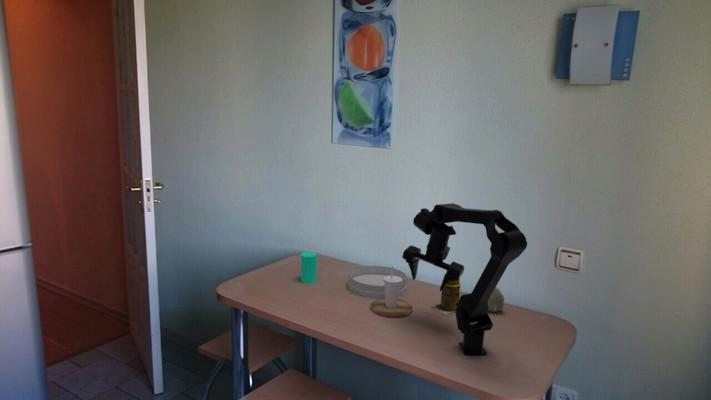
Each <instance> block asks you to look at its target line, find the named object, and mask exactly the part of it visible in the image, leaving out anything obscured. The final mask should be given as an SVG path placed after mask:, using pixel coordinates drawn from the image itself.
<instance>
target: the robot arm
mask: <svg viewBox="0 0 711 400" xmlns="http://www.w3.org/2000/svg"><path fill="white" fill-rule="evenodd" d="M412 221H413V225H414V227H416V228H417V229H418V230H420V231H421V232H422V233H423V234H425V235H426V236H429V239H428V243H427V245H426V251H425V254H424V253H421V252H422V249H421V248H420V247H417V246H414V245H409V246H408V247H407V248H405V250H403V252H402V255H401V256H402V259H403V260H405V263H407V264H408V267H409V269H410V273H411V278H412V280H413V281H414V280H416V277H417V273H418V267H419V263H420V261H422V262H425V263H428V264H431V265H433V266H435V267H438V268H441V269H443V270H445V271H446V272H445V274H446V275H445V274H444V275H445V276H444V275H443V278H442V282H441V285H440V287H439V291H440V292H442V289H443V288H444V286H445V285H446V283H447V282H448V281H449V280H454V279H455V280H458V279H459V278H460V279H461V277H462V275H463V273H464V271H465V266H464V265H463V264H461V263H458V262H456V261H451V263H447V262H445V260H447V257H448V256H449V253H450V251H451V247H450V246H449V245H448V243H449V241H450V240H449V239H450V236H456V234H457V232H456V230H455V228H454V226H453V225H448V224H449V223H457V222H459V223H465V224H467V223H468V224H477V225H483V226H484V228H485V232H486V237H487V239H488V240H489V242H490V243H491V245H490V248H489V251H490V258H489V260H488V262H487V263H486V266H485V268H484V269H483V271H482V273H481V275H480V276H479V278H478V280H477V282H476V284H475V286H474V288H473V290H472V291H471V292H469V293H465V294H461V295H460V296H459V302H458V303H457V304H456V306H457V307H456V311H455V312H454V313H455V318H456V325H457V329H458V330H459V331H460V333H461V334H463V338H462V339H463V340H462V342H458V346H459V347H460V349H461V351H462V352H463V355H465V356H486V355H488V352H487V351H486V349H485V348H484V343H485V334H486V332H488V331H491V330H492V328H493V326H494V324H493V322H492V320H491V317H490V316H489V313H488V312H489V311H488V309H489V307H488V300H489V298H490V296H491V294H492V293H493V291H494V289H495V287H497V286H498V283H499V282H500V280H501V279H502V277H503V275H504V273H505V271H506V270H507V268H508V266H509V264H511V263H512V262H513V261H515V260H516V259H517V258H519V257H520V256H521V255H522V254H523V252H524V251H525V250H526V249H527V247H528V241H527V238H526V236H525V234H524V233H523V232H522V231H521V230H520V228H519V227H518V226H517V225H516V224H515V223H513V221H511V220H510V219H508V218H507V217H506V216H505V215H504V213H503V212H502V211H500V210H498V209H491V210H490V209H478V208H477V209H476V208H466V207H462V206H461V205H459V204H456V203H454V202H452V203H451V202H450V203H442V204H441V203H440V204H435V205H434V206H433V209H432V210H431V211H430V210H429V209H428V208H421V209H420V211H419V212H418V213H417V214H416V215H415V216H414V217H413V220H412ZM496 227H497V228H498V229H500V230H502V232H499V230H497V228H496Z"/></svg>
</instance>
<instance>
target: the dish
mask: <svg viewBox="0 0 711 400" xmlns="http://www.w3.org/2000/svg"><path fill="white" fill-rule="evenodd" d="M391 268H392V267H389V266H384V265H382V266H381V265H363V266H360V267H355V268H354V269H352V270H351V271H349V274H348V282H347V283H348V284H347V287H348V289H349V291H351V292H352V293H354V294H356V295H358V296H362V297H363V298H364V297H365V298H369V299H370V298H371V299H382V298H385V285H384V281H383V280H384V277H386V276H391ZM393 276H398V277H400V278H402V284H401V288H400V293H399V297H400V296H402V295H404V294H405V293H406V292H407V289H408V288H407V285H408V284H407V281H408V277H407V274H406V273H405V272H403V271H401V270H399V269H396V268H394V267H393Z"/></svg>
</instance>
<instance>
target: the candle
mask: <svg viewBox="0 0 711 400" xmlns="http://www.w3.org/2000/svg"><path fill="white" fill-rule="evenodd" d="M300 255H301V257H300V258H301V259H300V260H301V262H300V281H301V282H302V283H305V284H312V283H315V282H317V265H318V264H317V262H318V254H317V253H314V252H311V251H303V252H301V254H300Z"/></svg>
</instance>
